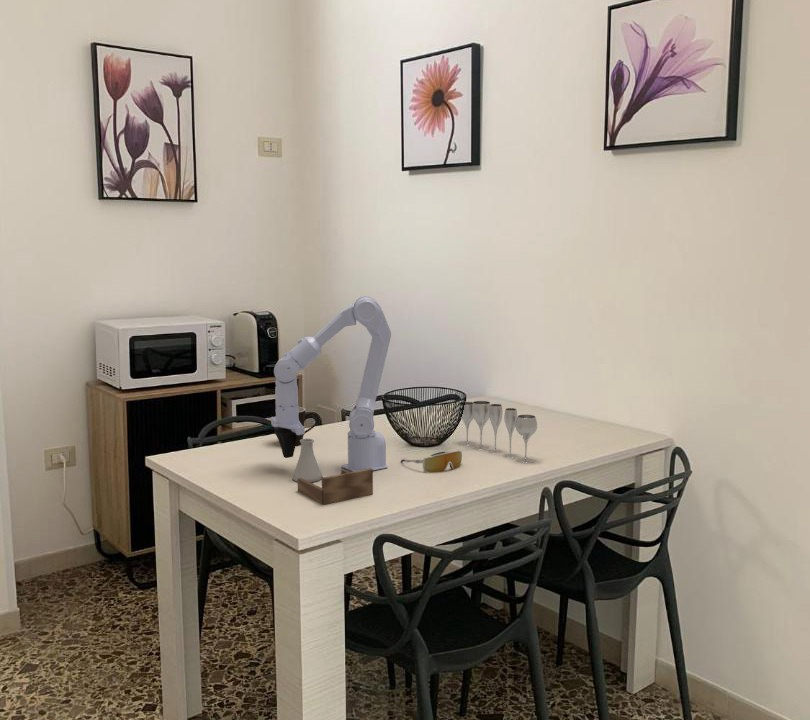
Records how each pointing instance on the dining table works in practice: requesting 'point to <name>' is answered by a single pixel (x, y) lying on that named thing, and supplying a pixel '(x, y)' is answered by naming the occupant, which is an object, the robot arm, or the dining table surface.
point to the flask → (307, 463)
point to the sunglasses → (439, 461)
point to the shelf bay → (339, 486)
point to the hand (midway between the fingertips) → (288, 456)
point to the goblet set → (484, 411)
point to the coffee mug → (302, 419)
